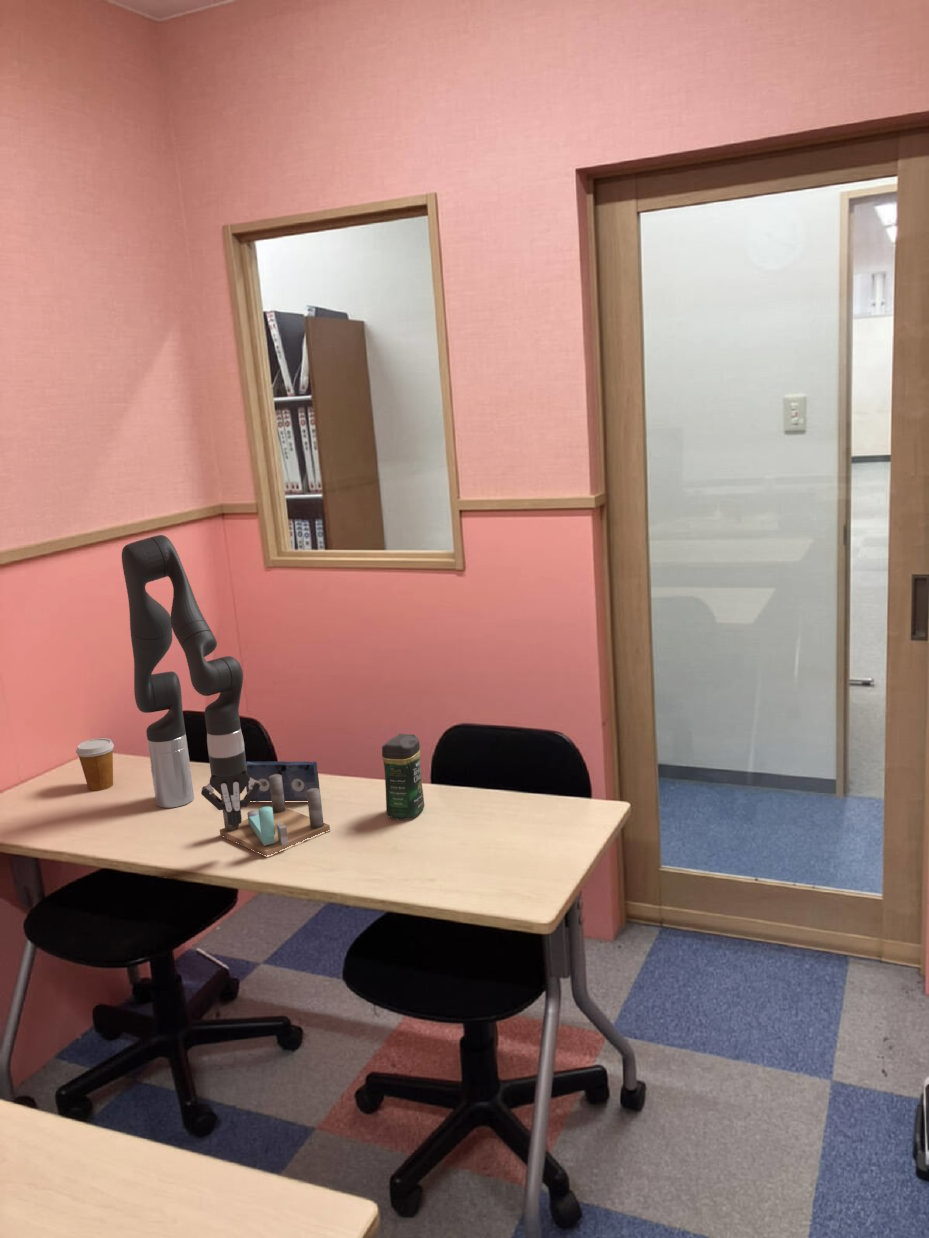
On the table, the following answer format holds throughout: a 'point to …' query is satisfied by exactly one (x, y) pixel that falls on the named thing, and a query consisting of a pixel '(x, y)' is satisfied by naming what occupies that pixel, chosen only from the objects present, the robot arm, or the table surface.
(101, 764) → the disposable coffee cup
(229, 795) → the robot arm
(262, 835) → the hinged leg
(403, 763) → the coffee jar
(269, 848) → the stool seat
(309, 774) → the vhs cassette tape
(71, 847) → the table surface
